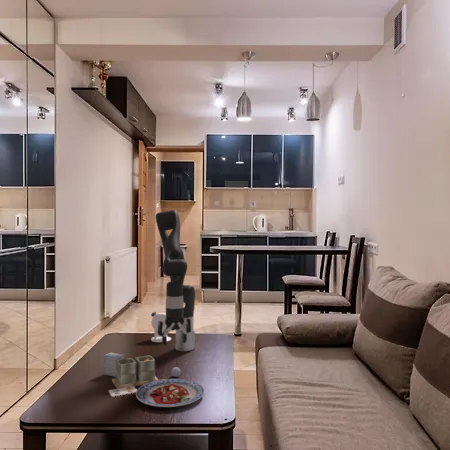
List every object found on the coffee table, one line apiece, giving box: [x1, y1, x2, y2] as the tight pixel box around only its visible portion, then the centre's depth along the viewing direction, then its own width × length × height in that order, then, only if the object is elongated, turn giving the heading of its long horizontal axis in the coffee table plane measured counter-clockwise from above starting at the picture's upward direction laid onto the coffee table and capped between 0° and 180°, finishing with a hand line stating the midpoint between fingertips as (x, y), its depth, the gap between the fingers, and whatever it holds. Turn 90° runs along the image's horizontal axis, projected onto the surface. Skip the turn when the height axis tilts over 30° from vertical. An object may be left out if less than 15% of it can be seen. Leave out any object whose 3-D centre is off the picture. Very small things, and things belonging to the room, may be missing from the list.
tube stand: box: [111, 355, 159, 389], centre depth 173 cm, size 17×9×9 cm, turn 117°
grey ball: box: [170, 366, 182, 378], centre depth 179 cm, size 4×4×4 cm
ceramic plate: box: [135, 378, 205, 408], centre depth 158 cm, size 26×26×3 cm
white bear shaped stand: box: [150, 311, 172, 343], centre depth 235 cm, size 12×11×15 cm
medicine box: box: [103, 352, 125, 378], centre depth 180 cm, size 8×4×9 cm, turn 65°
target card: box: [108, 386, 138, 398], centre depth 162 cm, size 10×6×1 cm, turn 117°
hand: (174, 343), depth 179 cm, fingers open, 8 cm apart
